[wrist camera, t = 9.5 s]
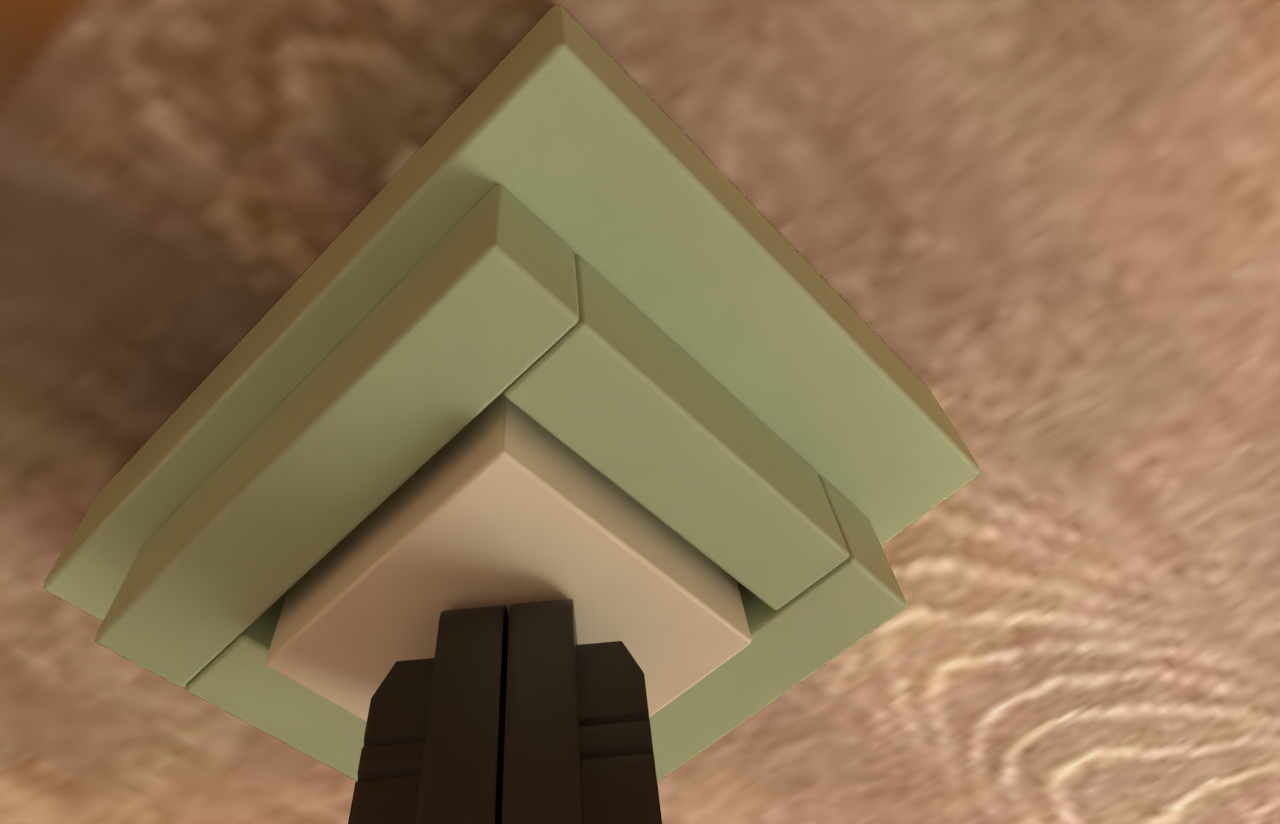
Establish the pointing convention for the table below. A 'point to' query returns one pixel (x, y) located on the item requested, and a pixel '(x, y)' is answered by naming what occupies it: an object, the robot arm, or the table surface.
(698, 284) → the key block
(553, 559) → the ivory key
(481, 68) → the table surface
